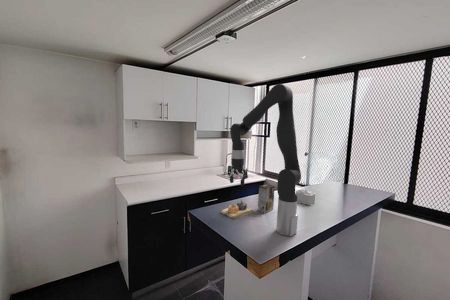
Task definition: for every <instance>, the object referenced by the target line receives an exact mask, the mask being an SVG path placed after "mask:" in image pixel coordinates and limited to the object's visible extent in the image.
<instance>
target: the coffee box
mask: <svg viewBox="0 0 450 300" xmlns="http://www.w3.org/2000/svg"><path fill="white" fill-rule="evenodd" d="M257 197H258V199H257V211H259V212H262V213H263V214H267V213H269V212H271V211H273V210H274V206H275V205H274V201H275V185H273V184H270V183H269V184H268V183H265V184H262V185H259V186H258V196H257Z"/></svg>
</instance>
